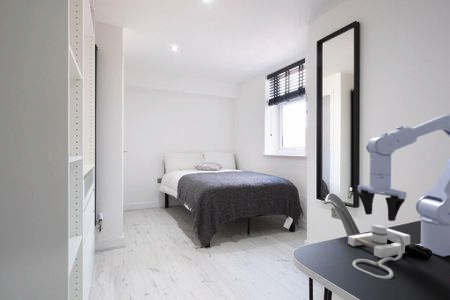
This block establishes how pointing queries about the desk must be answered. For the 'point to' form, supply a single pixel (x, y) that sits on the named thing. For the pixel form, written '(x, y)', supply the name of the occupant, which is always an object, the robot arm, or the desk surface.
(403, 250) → the hook
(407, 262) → the desk surface
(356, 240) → the notched shelf
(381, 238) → the white ridged cylinder
